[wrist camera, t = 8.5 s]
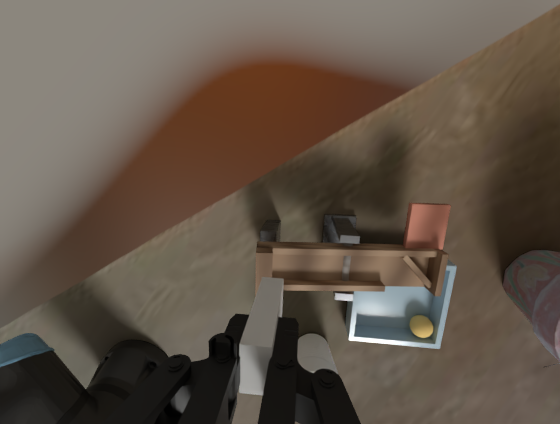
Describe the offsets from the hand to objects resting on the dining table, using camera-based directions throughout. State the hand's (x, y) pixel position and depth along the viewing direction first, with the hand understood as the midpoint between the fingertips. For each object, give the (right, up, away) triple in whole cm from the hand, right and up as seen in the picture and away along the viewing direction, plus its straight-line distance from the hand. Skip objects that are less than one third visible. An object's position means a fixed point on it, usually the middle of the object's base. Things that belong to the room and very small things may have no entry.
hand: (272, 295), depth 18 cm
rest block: (-1, +1, +27) cm, 27 cm away
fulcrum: (+10, +1, +26) cm, 28 cm away
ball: (+24, -13, +25) cm, 37 cm away
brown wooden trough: (+10, +2, +17) cm, 20 cm away
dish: (+20, -8, +27) cm, 35 cm away
